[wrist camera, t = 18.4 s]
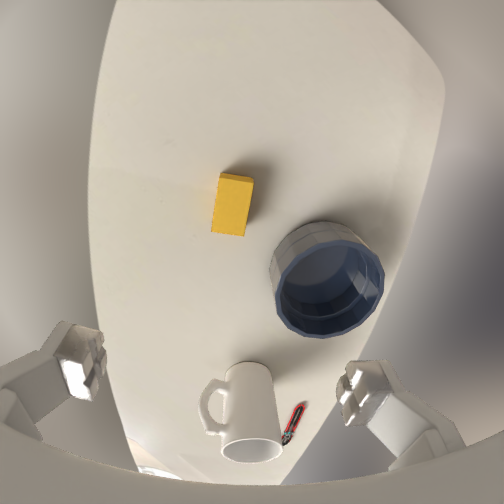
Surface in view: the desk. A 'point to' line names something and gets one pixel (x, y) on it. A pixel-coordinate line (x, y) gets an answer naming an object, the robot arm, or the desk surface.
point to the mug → (245, 414)
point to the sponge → (232, 204)
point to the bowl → (325, 280)
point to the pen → (292, 427)
